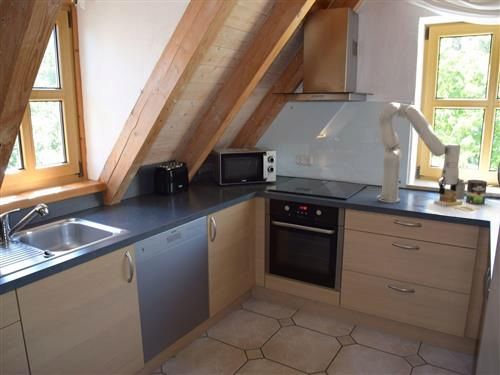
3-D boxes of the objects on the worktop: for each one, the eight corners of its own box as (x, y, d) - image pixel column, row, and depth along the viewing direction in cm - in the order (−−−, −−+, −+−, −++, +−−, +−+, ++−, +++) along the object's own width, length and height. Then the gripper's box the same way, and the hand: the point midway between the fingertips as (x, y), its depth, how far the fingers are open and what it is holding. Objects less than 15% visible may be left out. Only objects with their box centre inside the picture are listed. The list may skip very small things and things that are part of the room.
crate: (449, 202, 249) (450, 192, 248) (439, 200, 255) (440, 190, 254) (456, 201, 252) (457, 191, 251) (446, 199, 258) (447, 189, 257)
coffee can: (487, 206, 251) (489, 183, 248) (468, 206, 253) (470, 182, 250) (481, 202, 261) (483, 179, 258) (462, 202, 263) (465, 179, 260)
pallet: (467, 213, 237) (467, 211, 237) (453, 210, 245) (453, 208, 244) (480, 211, 242) (480, 209, 242) (465, 207, 250) (466, 205, 249)
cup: (462, 198, 272) (464, 182, 270) (464, 201, 265) (466, 185, 263) (448, 197, 275) (449, 182, 273) (449, 200, 268) (451, 184, 265)
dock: (446, 208, 247) (447, 203, 247) (433, 205, 255) (434, 200, 254) (461, 206, 253) (462, 201, 252) (448, 202, 261) (449, 198, 260)
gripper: (446, 166, 242) (442, 196, 246) (466, 164, 250) (462, 193, 254) (435, 164, 248) (431, 193, 252) (455, 162, 256) (451, 190, 260)
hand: (447, 193), depth 253 cm, fingers open, 9 cm apart
